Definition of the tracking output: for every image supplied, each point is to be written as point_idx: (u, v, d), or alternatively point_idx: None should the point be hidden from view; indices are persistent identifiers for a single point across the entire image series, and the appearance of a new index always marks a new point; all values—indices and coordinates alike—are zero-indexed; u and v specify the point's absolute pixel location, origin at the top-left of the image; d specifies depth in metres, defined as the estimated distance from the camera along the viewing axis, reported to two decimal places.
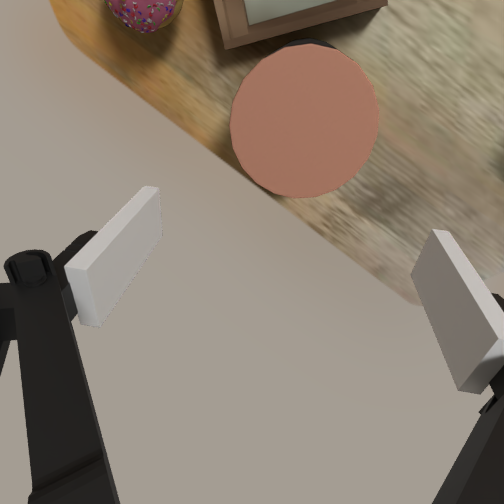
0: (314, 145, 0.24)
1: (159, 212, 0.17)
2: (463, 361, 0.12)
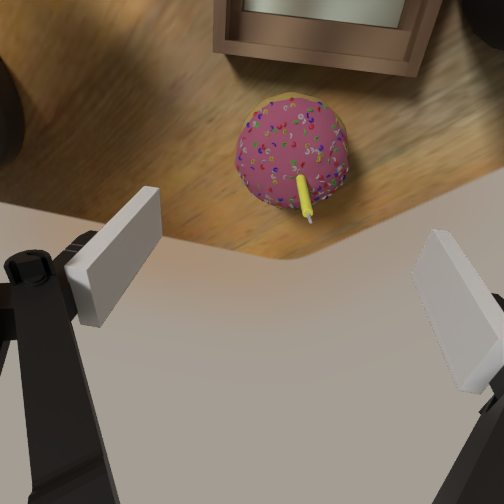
0: None
1: (159, 212, 0.17)
2: (463, 361, 0.12)
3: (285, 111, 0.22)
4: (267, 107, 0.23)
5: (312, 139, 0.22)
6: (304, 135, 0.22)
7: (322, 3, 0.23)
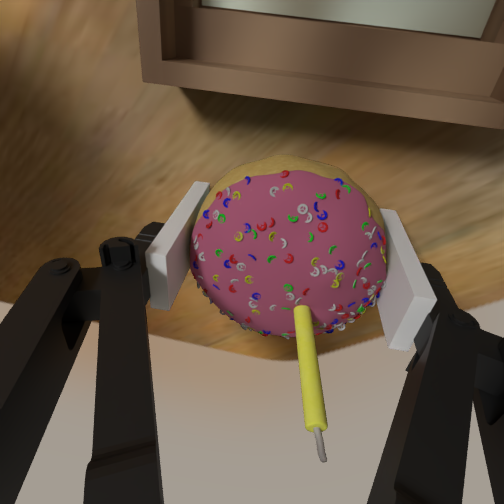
0: None
1: None
2: (392, 321, 0.13)
3: (273, 197, 0.12)
4: (240, 186, 0.12)
5: (324, 250, 0.12)
6: (308, 242, 0.12)
7: None
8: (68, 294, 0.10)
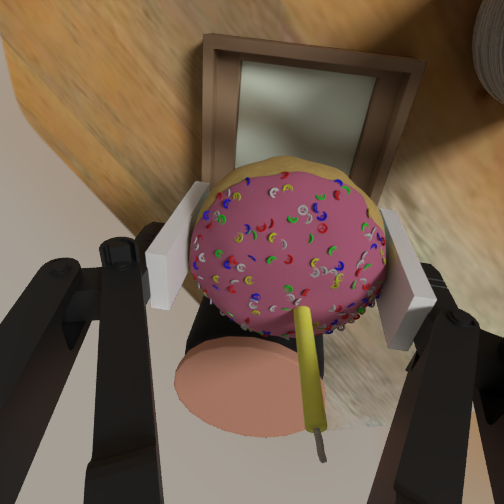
0: (256, 409, 0.24)
1: None
2: (392, 321, 0.13)
3: (273, 199, 0.12)
4: (240, 187, 0.12)
5: (324, 251, 0.12)
6: (308, 243, 0.12)
7: (247, 129, 0.30)
8: (68, 294, 0.10)
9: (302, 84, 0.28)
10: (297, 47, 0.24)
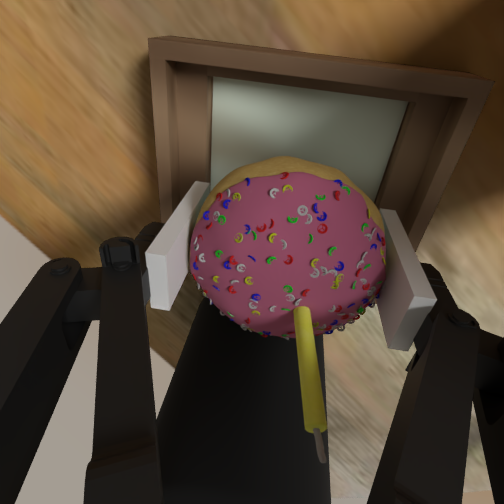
0: None
1: None
2: (392, 321, 0.13)
3: (273, 199, 0.12)
4: (240, 188, 0.12)
5: (324, 252, 0.12)
6: (308, 243, 0.12)
7: (224, 169, 0.22)
8: (68, 294, 0.10)
9: (300, 109, 0.19)
10: (292, 58, 0.16)
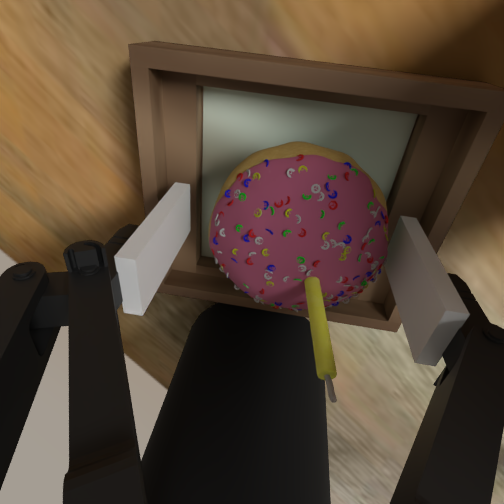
0: None
1: (189, 208, 0.17)
2: (419, 335, 0.12)
3: (289, 178, 0.13)
4: (259, 168, 0.14)
5: (334, 226, 0.13)
6: (320, 218, 0.13)
7: (217, 184, 0.20)
8: (34, 299, 0.10)
9: (299, 121, 0.17)
10: (289, 67, 0.14)
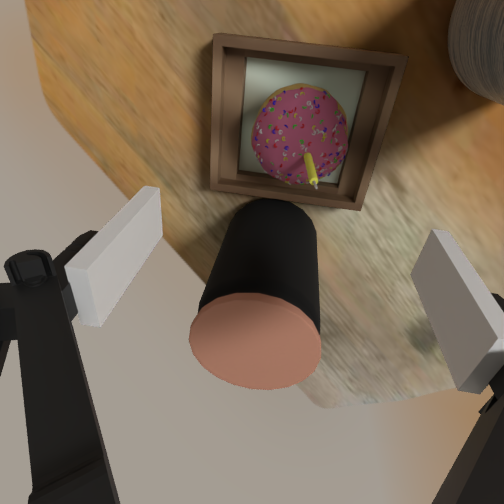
0: (260, 361, 0.27)
1: (159, 212, 0.17)
2: (463, 361, 0.12)
3: (296, 98, 0.27)
4: (280, 95, 0.27)
5: (318, 122, 0.27)
6: (311, 118, 0.27)
7: (251, 119, 0.34)
8: None
9: (300, 78, 0.31)
10: (295, 44, 0.27)
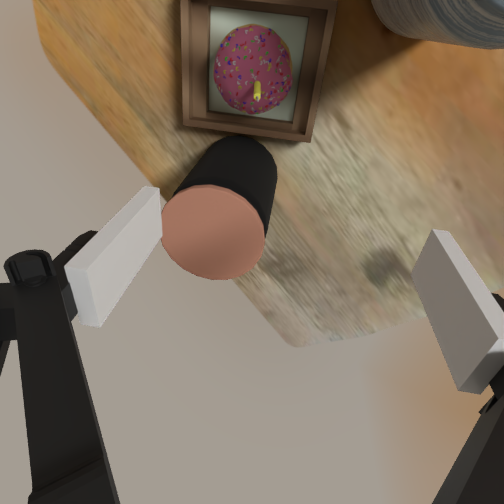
0: (217, 249, 0.33)
1: (159, 212, 0.17)
2: (463, 361, 0.12)
3: (246, 34, 0.33)
4: (234, 32, 0.33)
5: (264, 53, 0.33)
6: (258, 50, 0.33)
7: None
8: None
9: None
10: None
